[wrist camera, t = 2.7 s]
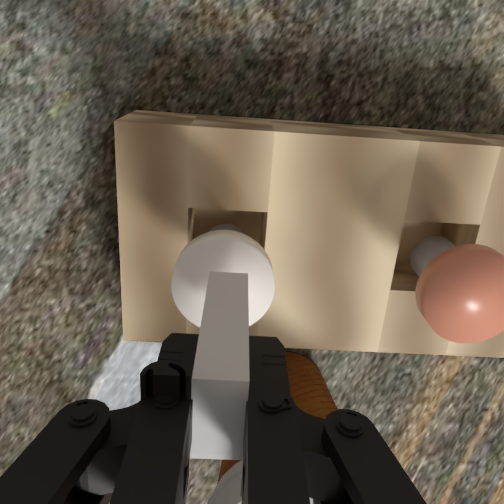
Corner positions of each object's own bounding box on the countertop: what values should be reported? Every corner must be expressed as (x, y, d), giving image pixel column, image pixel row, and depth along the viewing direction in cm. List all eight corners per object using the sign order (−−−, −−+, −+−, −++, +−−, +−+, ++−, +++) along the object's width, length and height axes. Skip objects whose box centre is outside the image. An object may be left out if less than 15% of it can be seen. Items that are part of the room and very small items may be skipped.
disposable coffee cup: (226, 321, 32) (219, 462, 21) (361, 342, 33) (423, 488, 21) (205, 429, 35) (188, 598, 24) (327, 445, 36) (365, 616, 25)
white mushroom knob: (183, 281, 25) (171, 329, 21) (184, 202, 23) (171, 236, 19) (264, 285, 25) (270, 334, 21) (271, 207, 24) (279, 242, 19)
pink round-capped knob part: (384, 291, 26) (415, 341, 21) (399, 215, 24) (436, 251, 19) (462, 295, 26) (510, 345, 21) (483, 220, 24) (539, 257, 20)
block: (140, 298, 31) (123, 340, 26) (136, 110, 26) (113, 120, 22) (465, 314, 32) (504, 357, 27) (515, 135, 27) (571, 151, 23)
